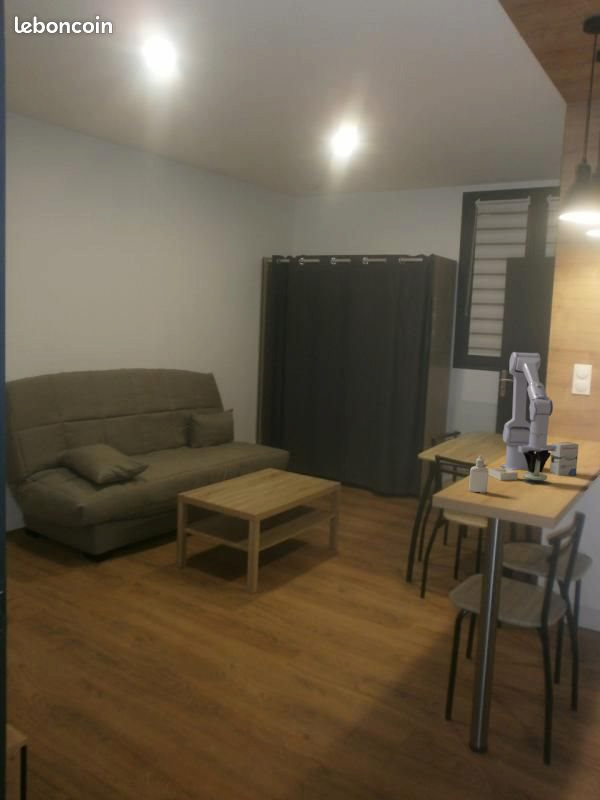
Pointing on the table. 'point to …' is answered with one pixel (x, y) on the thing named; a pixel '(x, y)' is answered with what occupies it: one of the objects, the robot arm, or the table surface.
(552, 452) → the ink box
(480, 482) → the eye dropper bottle
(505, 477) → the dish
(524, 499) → the table surface
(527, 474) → the lid
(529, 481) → the mat
